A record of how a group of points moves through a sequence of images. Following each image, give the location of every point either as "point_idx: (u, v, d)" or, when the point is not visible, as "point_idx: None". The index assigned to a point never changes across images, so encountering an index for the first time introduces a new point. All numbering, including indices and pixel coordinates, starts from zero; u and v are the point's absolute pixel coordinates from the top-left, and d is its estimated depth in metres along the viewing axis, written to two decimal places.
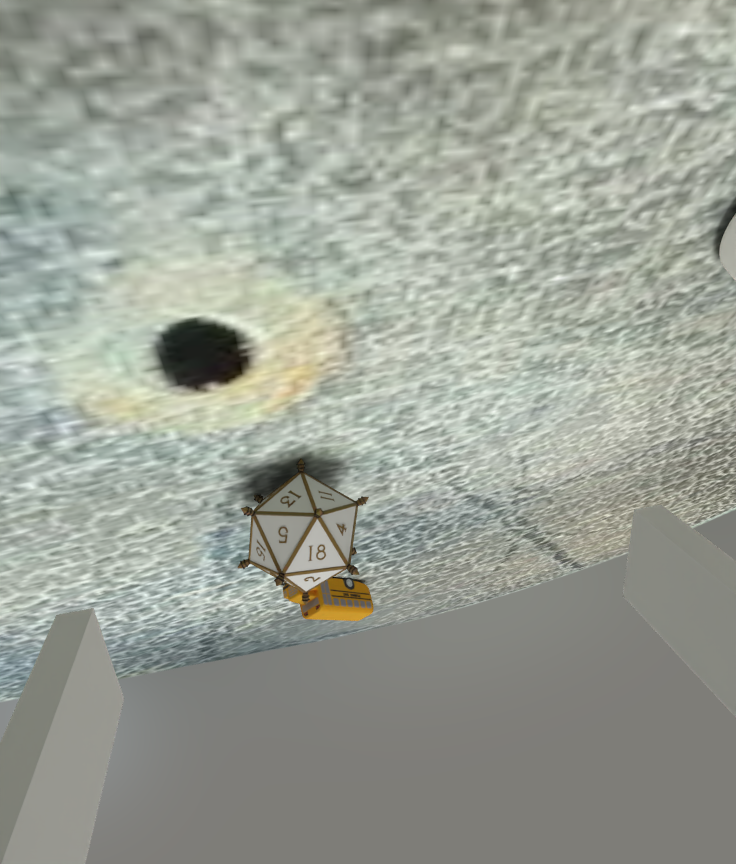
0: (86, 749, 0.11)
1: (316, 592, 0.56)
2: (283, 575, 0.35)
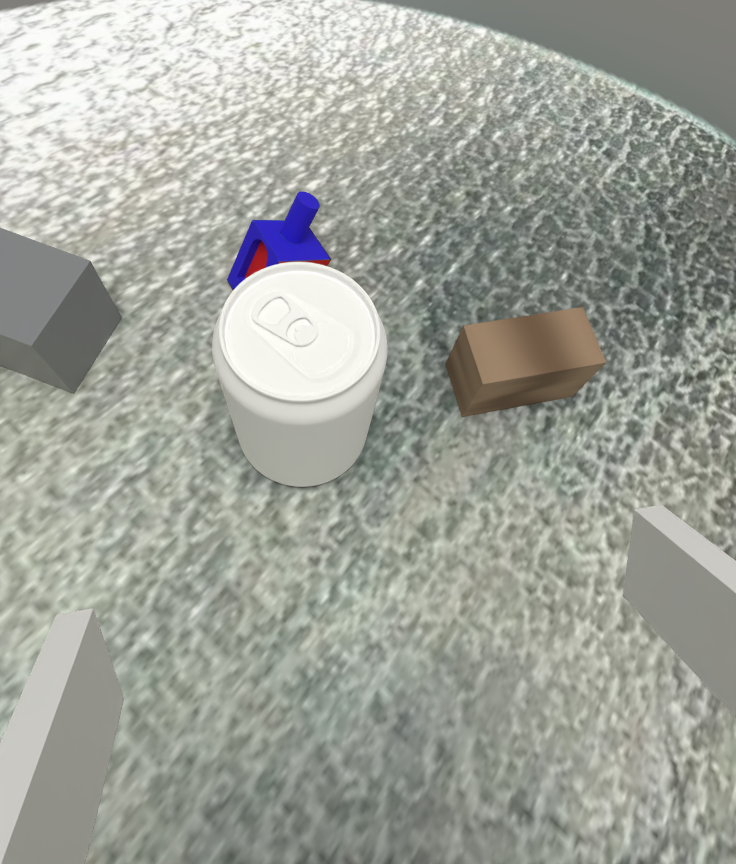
0: (86, 749, 0.11)
1: None
2: None
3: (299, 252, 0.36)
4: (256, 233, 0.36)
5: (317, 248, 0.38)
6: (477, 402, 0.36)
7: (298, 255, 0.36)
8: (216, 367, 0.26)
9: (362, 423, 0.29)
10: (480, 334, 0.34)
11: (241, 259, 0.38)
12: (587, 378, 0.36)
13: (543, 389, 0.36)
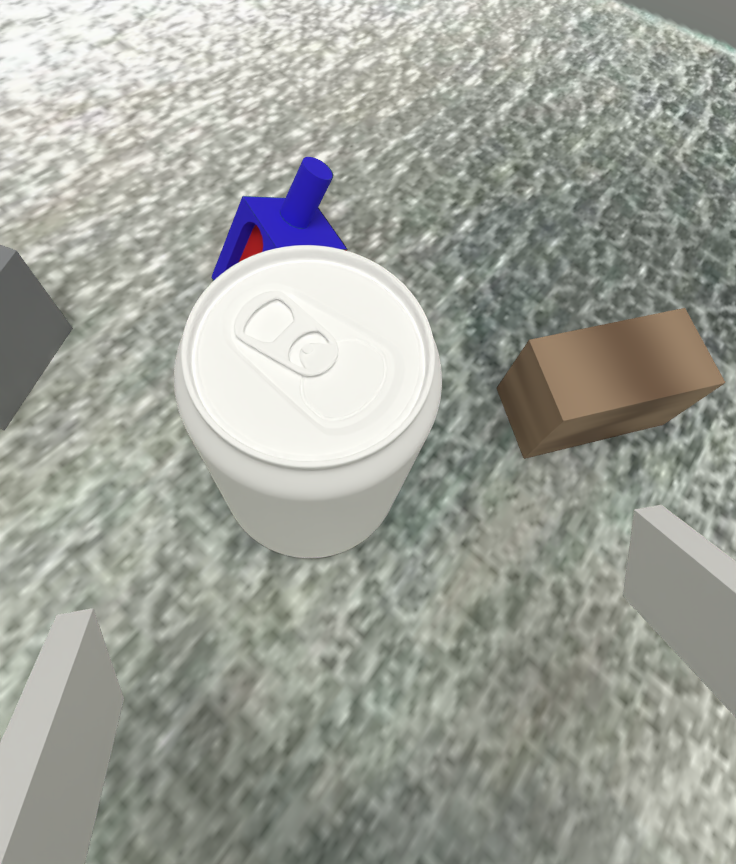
0: (86, 749, 0.11)
1: None
2: None
3: (306, 240, 0.27)
4: (248, 214, 0.27)
5: (329, 234, 0.28)
6: (548, 441, 0.27)
7: (304, 244, 0.27)
8: (179, 409, 0.16)
9: (400, 483, 0.20)
10: (553, 351, 0.25)
11: (229, 249, 0.28)
12: (692, 403, 0.27)
13: (634, 420, 0.27)
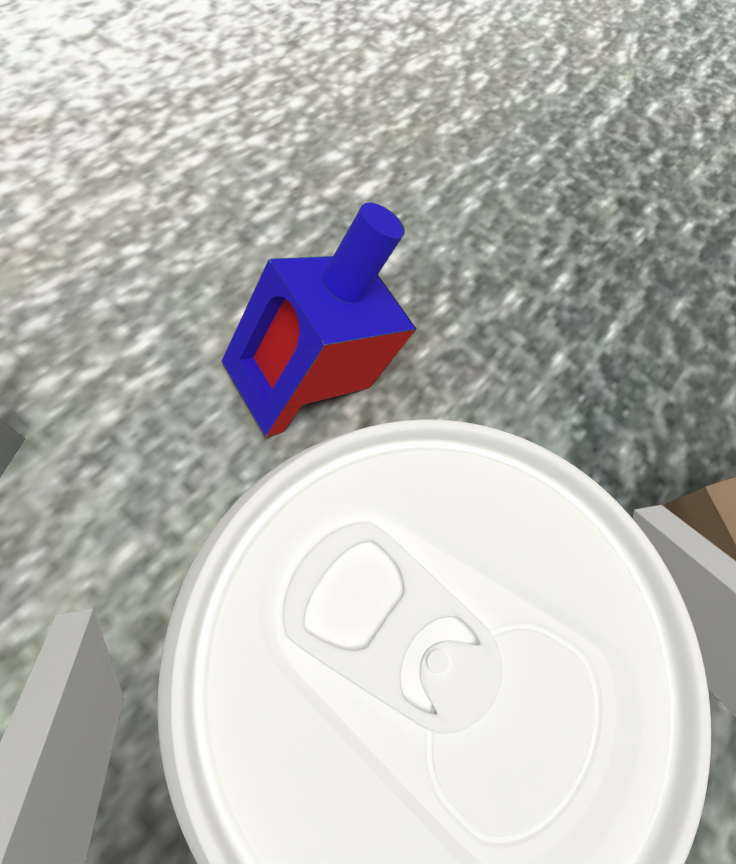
0: (86, 749, 0.11)
1: None
2: None
3: (360, 320, 0.19)
4: (277, 285, 0.18)
5: (391, 308, 0.20)
6: None
7: (358, 327, 0.18)
8: (168, 786, 0.08)
9: None
10: None
11: (247, 329, 0.20)
12: None
13: None
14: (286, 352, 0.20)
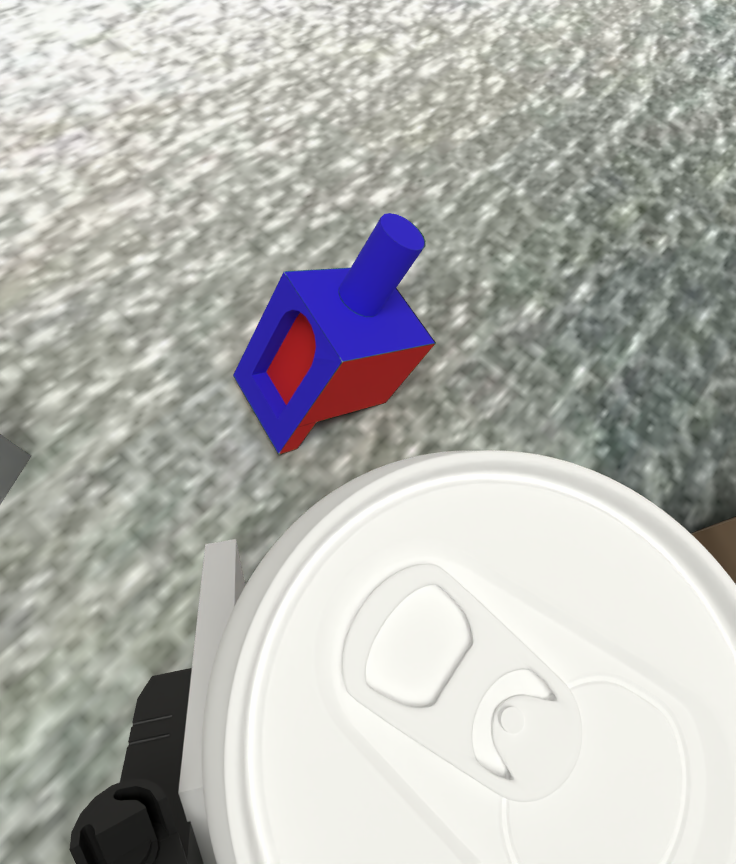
0: None
1: None
2: None
3: (378, 335, 0.18)
4: (292, 299, 0.17)
5: (409, 322, 0.19)
6: None
7: (377, 343, 0.18)
8: (216, 855, 0.07)
9: None
10: None
11: (260, 343, 0.19)
12: None
13: None
14: (301, 367, 0.19)
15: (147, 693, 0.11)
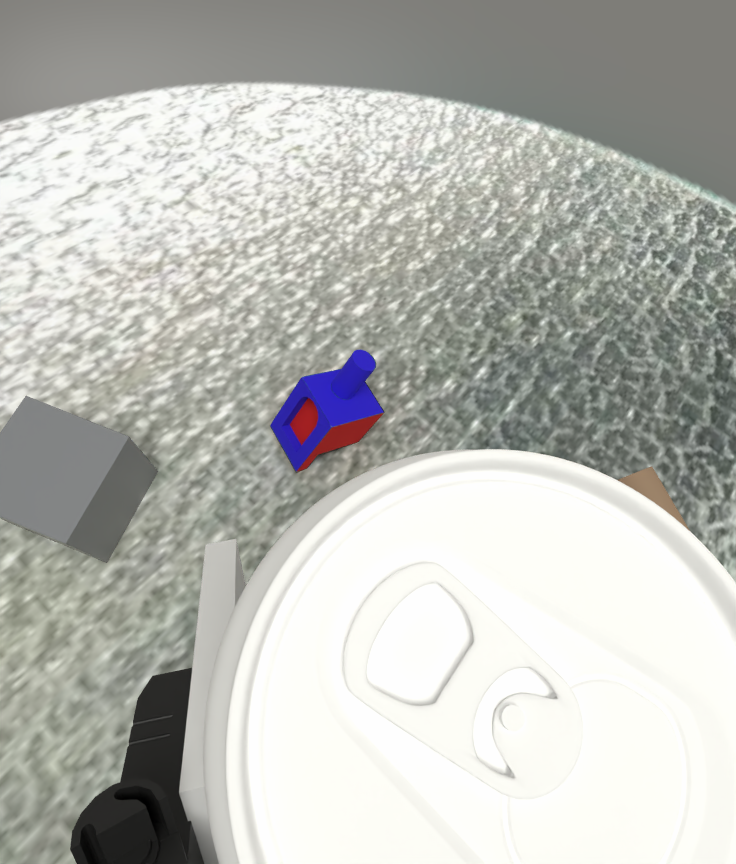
0: None
1: None
2: None
3: (352, 410, 0.33)
4: (306, 391, 0.33)
5: (369, 400, 0.35)
6: None
7: (350, 415, 0.33)
8: (217, 853, 0.07)
9: None
10: None
11: (287, 410, 0.35)
12: None
13: None
14: (309, 424, 0.35)
15: (148, 693, 0.11)
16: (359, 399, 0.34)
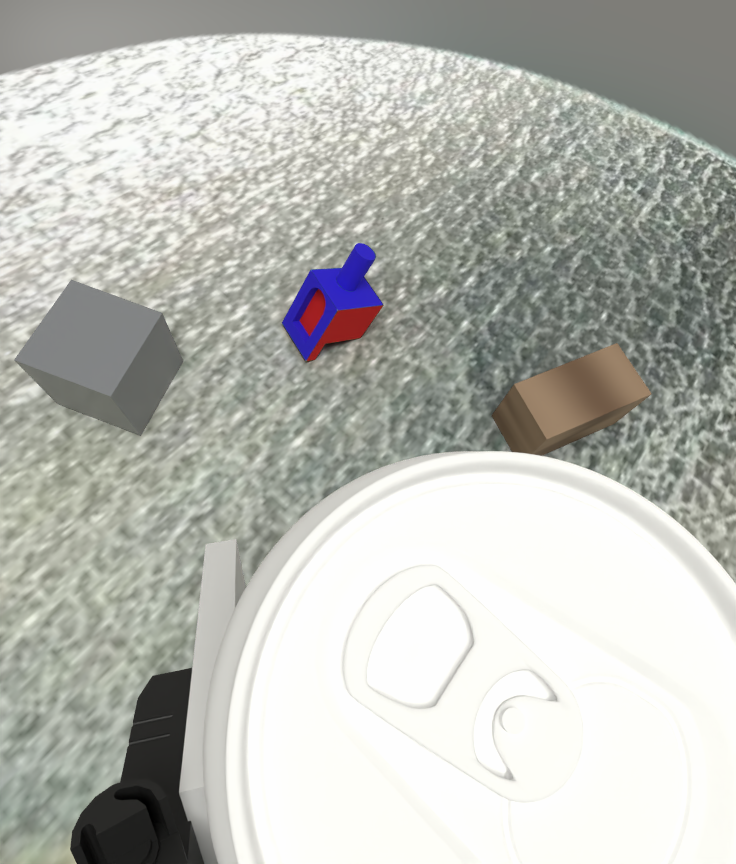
0: None
1: None
2: None
3: (355, 300, 0.38)
4: (314, 282, 0.37)
5: (370, 294, 0.39)
6: (536, 452, 0.37)
7: (354, 303, 0.38)
8: (217, 856, 0.07)
9: None
10: (531, 389, 0.36)
11: (297, 305, 0.39)
12: (632, 408, 0.38)
13: (593, 426, 0.38)
14: (317, 316, 0.39)
15: (148, 692, 0.11)
16: (361, 292, 0.39)
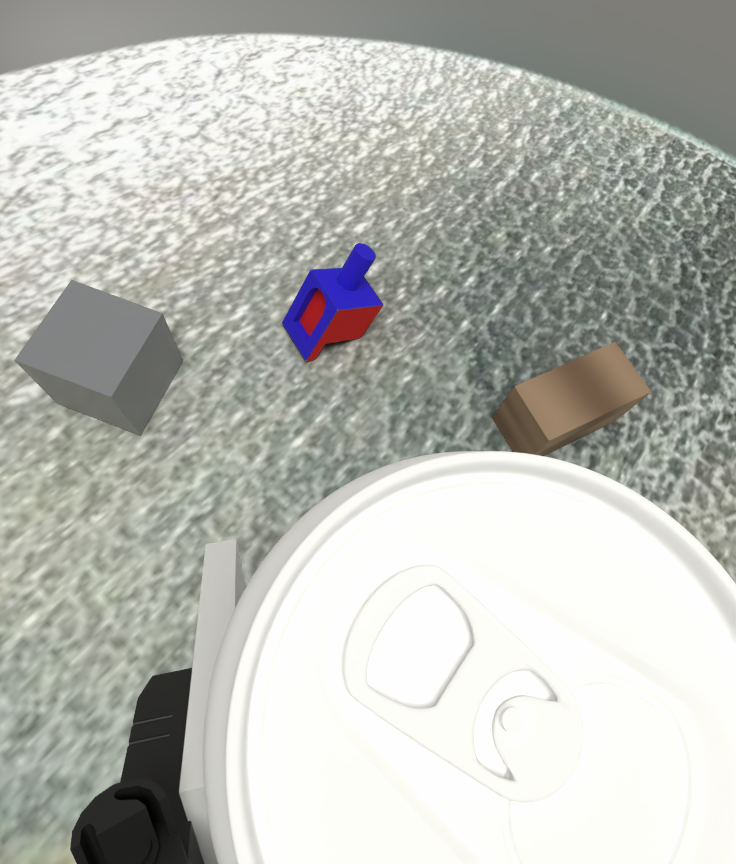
0: None
1: None
2: None
3: (355, 300, 0.38)
4: (314, 282, 0.37)
5: (370, 294, 0.39)
6: (538, 453, 0.37)
7: (354, 303, 0.38)
8: (217, 856, 0.07)
9: None
10: (532, 391, 0.36)
11: (297, 305, 0.39)
12: (631, 406, 0.38)
13: (594, 426, 0.38)
14: (317, 316, 0.39)
15: (148, 692, 0.11)
16: (361, 292, 0.39)
